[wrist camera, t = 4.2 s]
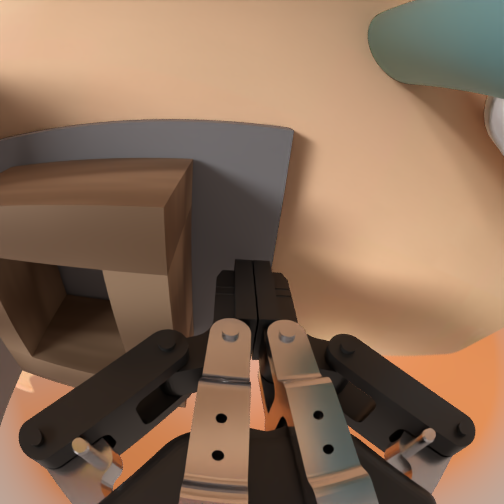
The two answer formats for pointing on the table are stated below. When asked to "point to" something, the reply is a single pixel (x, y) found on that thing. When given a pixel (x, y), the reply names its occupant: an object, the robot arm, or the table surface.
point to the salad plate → (495, 121)
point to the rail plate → (203, 188)
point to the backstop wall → (7, 377)
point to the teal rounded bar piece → (442, 44)
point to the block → (93, 260)
